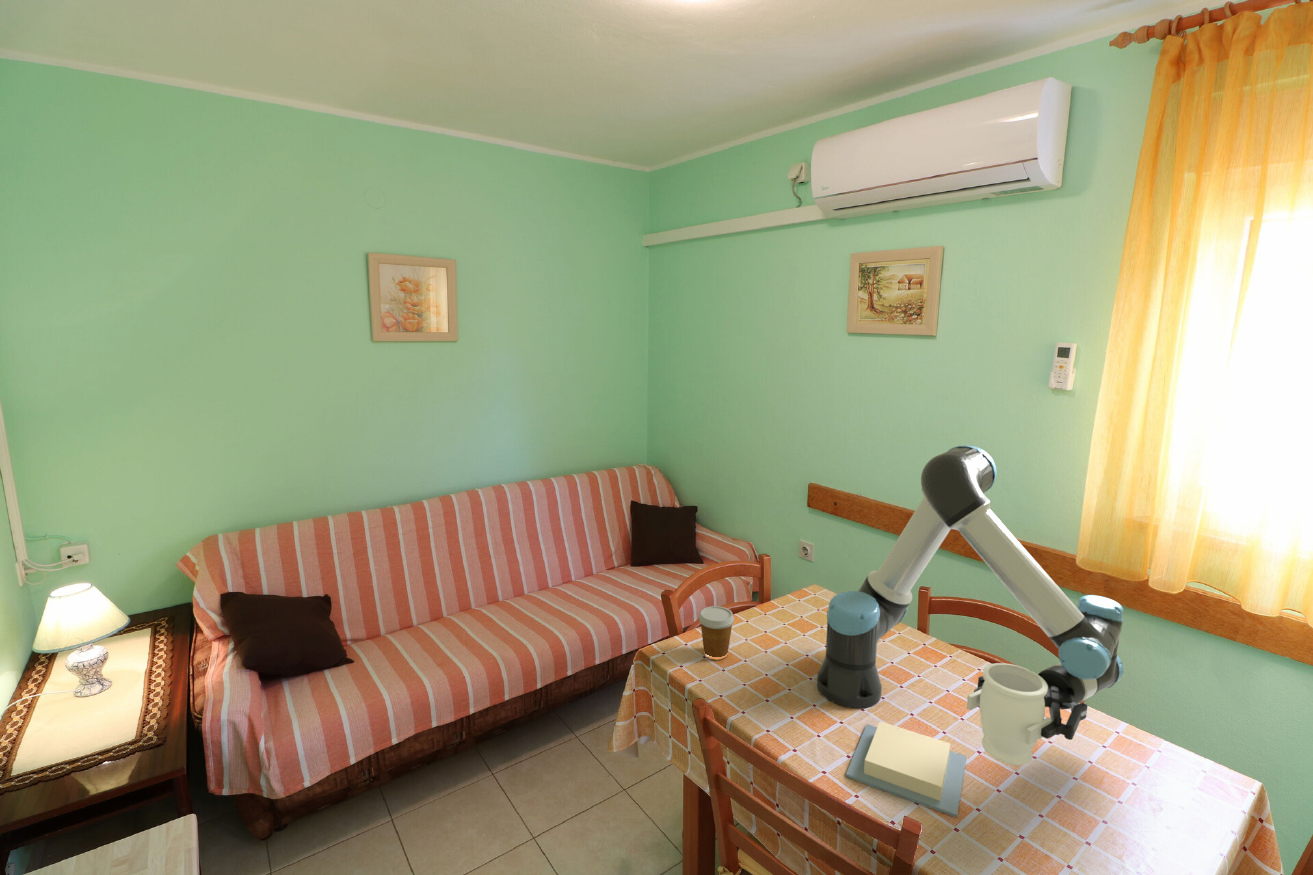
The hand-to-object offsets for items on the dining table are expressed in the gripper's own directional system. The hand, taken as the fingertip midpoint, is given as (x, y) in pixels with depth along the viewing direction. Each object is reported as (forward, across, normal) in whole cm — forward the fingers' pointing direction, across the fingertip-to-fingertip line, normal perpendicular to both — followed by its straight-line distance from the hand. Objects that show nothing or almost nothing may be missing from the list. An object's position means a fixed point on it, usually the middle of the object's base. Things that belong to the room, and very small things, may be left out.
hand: (997, 718), depth 112 cm
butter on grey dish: (+5, +14, -18) cm, 23 cm away
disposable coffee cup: (+14, +68, -18) cm, 72 cm away
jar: (-4, 0, -8) cm, 9 cm away
